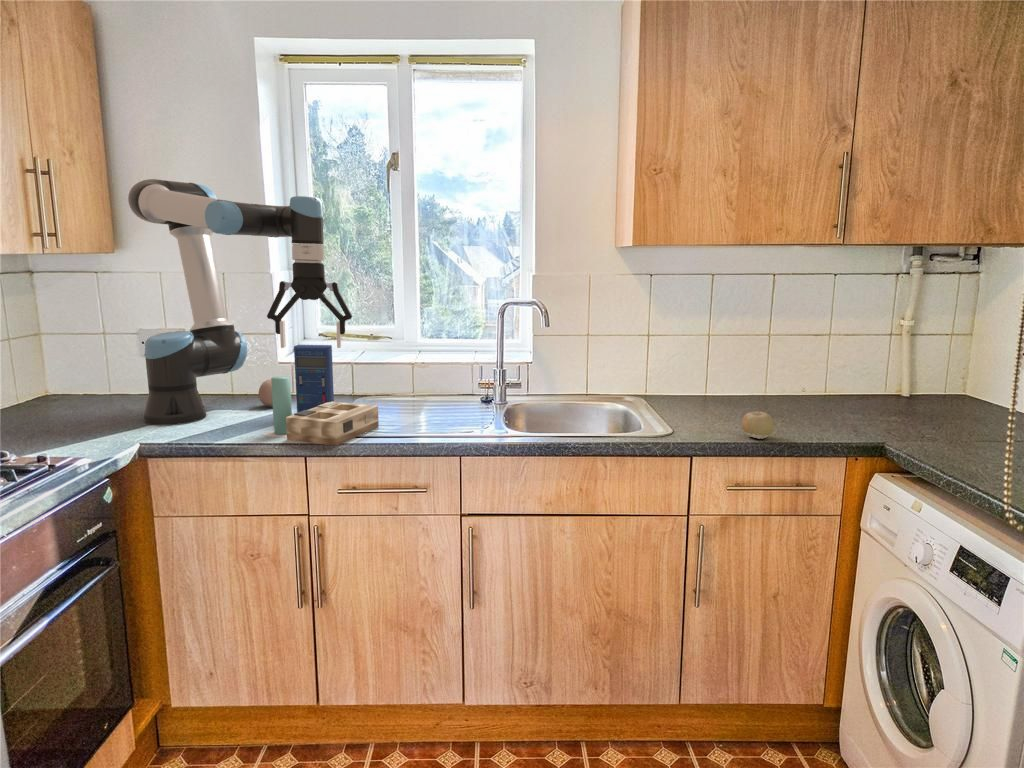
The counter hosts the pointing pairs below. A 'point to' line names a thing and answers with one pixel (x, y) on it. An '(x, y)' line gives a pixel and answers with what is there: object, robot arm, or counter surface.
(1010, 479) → the counter surface
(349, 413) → the socket block
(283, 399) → the pale green cylinder
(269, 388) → the egg
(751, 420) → the fruit
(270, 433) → the mat
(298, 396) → the electronic device
